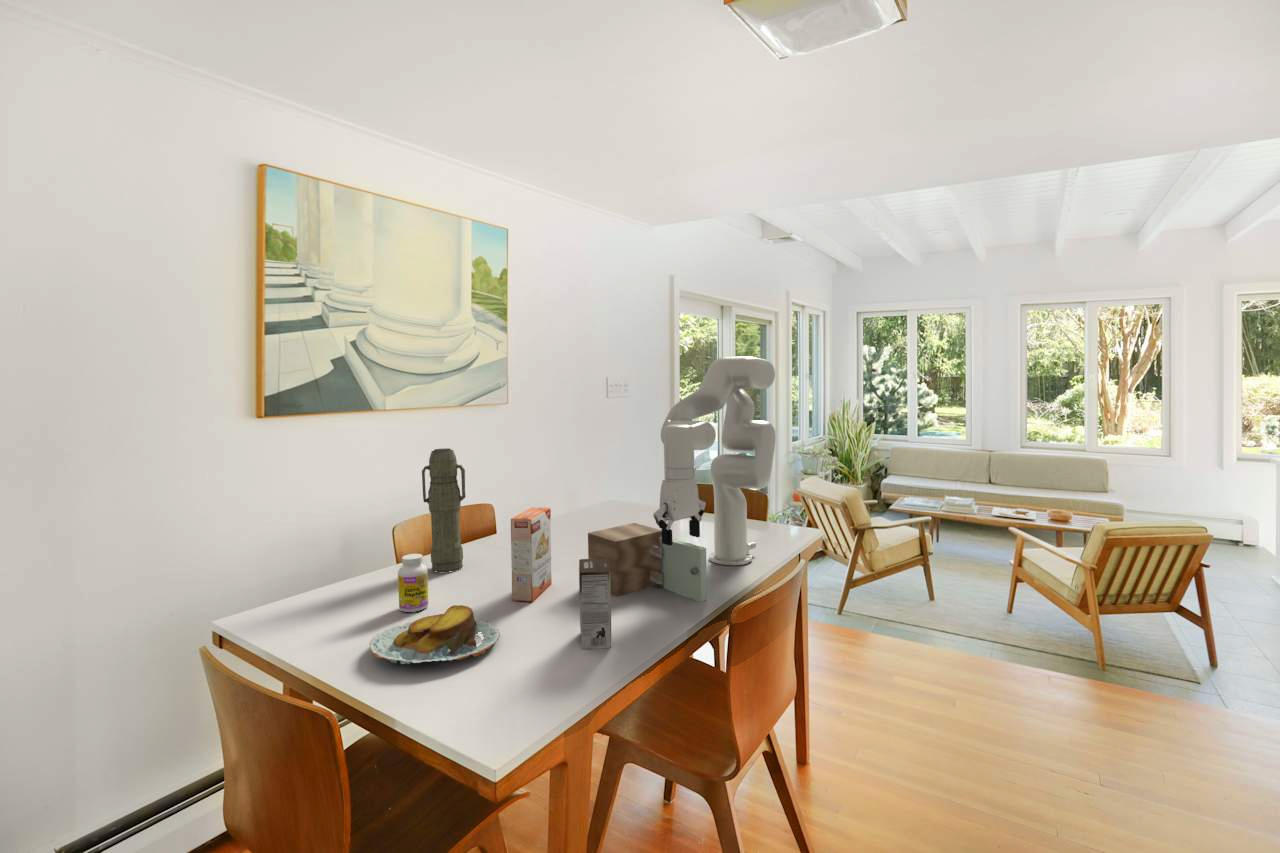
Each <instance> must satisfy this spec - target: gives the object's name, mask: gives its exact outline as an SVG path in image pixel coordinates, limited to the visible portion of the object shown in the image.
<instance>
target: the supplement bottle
mask: <svg viewBox="0 0 1280 853" xmlns="http://www.w3.org/2000/svg"><path fill="white" fill-rule="evenodd" d="M423 558H424V557H423V554H421V553H410V554H409V553H408V554H406V555H403V556H402V557H401V564H402V566H401V567H400V568H399V569H398V570H397V584H398V585H397V586H398V587H397V588H398V607H399V610H400V611H401V612H402V611H405V612H413V613H415V612H414V611H419V612H421V611H420V610H422V611H423V609H424V610H426V609H427V608H428V606H429V584H428V583H429V581H428V568H427V566H426V565H425V564H423V560H424V559H423ZM425 608H426V609H425ZM405 612H404V613H405Z"/></svg>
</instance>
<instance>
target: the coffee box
mask: <svg viewBox="0 0 1280 853" xmlns="http://www.w3.org/2000/svg"><path fill="white" fill-rule="evenodd" d="M578 565H579V566H578V571H579V572H578V581H579V584H578V586H579V588H578V589H579V592H578V594H579V597H578V598H579V621H580V625H579V626H580V627H579V628H580V647H581V650H589V649H590V650H591V649H592V650H593V649H610V648H612V604H611V603H612V599H611V598H612V594H611V586H610V566H609V560H608V559H588V558H581V559H579V562H578Z"/></svg>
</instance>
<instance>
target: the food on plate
mask: <svg viewBox="0 0 1280 853" xmlns="http://www.w3.org/2000/svg"><path fill="white" fill-rule="evenodd" d="M474 615H475V614H474V611H473V609H472V608H471V607H470V606H468V605H467V606H466V605H452V606H450V607H449V608H447V609H446V611H445V612H444V613H441V614H440V613H439V614H434V615H428V616H424V617H421V618H419V619H416V620H414V621H408V622H406V623H404V624H401V625H400V624H398V625H395V626H392V627H389V628H385V629H384V630H383V631H380V632H379V633H377V634H376V635H374V636H373V638H371V640H370V643H369V648H370V649H369V651H370V652H371V653H372V656H374V657H375V658H380V659H381V658H384V659H385V660H388V661H390V663H394V664H397V661H400V664H401V665H404V664H406V665H410V664H411V663H413V664H417V663H418V664H420V663H422V662H429V663H431V662H433V661H434V662H439V661H442V662H444V661H450V662H451V661H453V660H457V661H459V660H463V659H466V658H469V657H470V656H471V655H472V656H473V657H478V656H480V655H481V654H482V655H484V654H485V653H486V652H485V651H486V650H487V649H489V650H490V648H491V647H492V645H494V644H496V643H497V642H498V641H499V639H500V637H501V634H500V631H499V629H498V628H497V627H496V626H495V625H493V624H491V623H489V622H488V621H482V620H480V619H479V620H478V619H475V616H474ZM478 632H482V633H481V634H483V637H484V639H483V640H481V641H482V642H481V643H482V644H480V645H479V646H478V647H477V646H476V645H477V641H476V640H475V639H476V636H475V635H476V634H478Z"/></svg>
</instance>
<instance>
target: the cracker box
mask: <svg viewBox="0 0 1280 853" xmlns="http://www.w3.org/2000/svg"><path fill="white" fill-rule="evenodd" d="M551 510H552V509H551V508H550V507H530V508H528V509H525V510H524V511H522V512H521V513H519V514H517V515H515V516H513V517H511V518H510V550H511V551H510V555H511V557H510V559H511V561H510V563H511V600H512V601H515V602H528V603H529V602H531V603H533V602H535V600H536V599H537V598H538V597H539V596H541V595H542V594H543V592H545V591H546V590H547V589H548V588H549V587H550V586H551V585H552V529H551V528H552V527H551V525H552V524H551V523H552V520H551V519H552V517H551V516H552V515H551V512H552V511H551Z"/></svg>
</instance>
